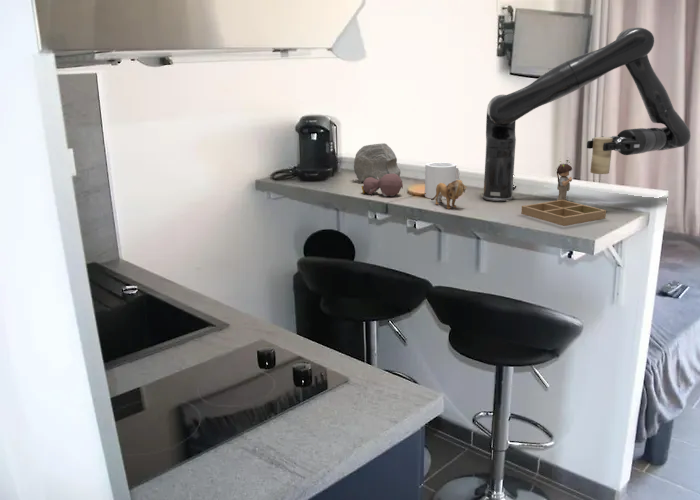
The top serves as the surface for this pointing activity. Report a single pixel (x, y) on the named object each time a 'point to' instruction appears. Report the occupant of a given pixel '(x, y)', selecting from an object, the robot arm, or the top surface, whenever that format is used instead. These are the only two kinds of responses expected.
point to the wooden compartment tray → (563, 212)
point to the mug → (439, 176)
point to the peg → (600, 156)
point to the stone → (375, 162)
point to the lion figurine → (449, 192)
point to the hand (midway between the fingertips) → (596, 145)
